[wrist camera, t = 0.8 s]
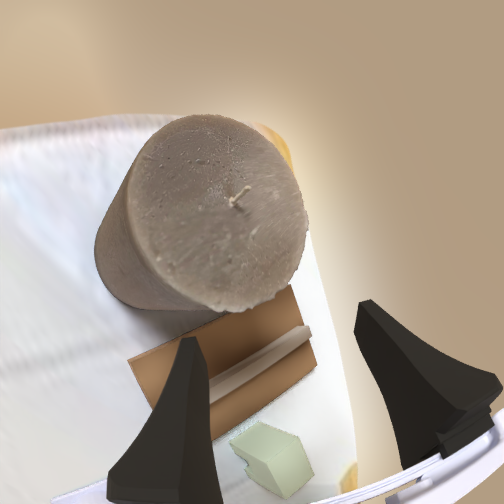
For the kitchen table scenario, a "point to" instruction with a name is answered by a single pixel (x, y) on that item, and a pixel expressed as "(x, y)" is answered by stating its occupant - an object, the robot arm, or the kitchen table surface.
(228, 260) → the pillar candle
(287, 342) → the cleat plank
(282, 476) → the notched block
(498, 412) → the robot arm
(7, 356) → the kitchen table surface
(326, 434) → the kitchen table surface
